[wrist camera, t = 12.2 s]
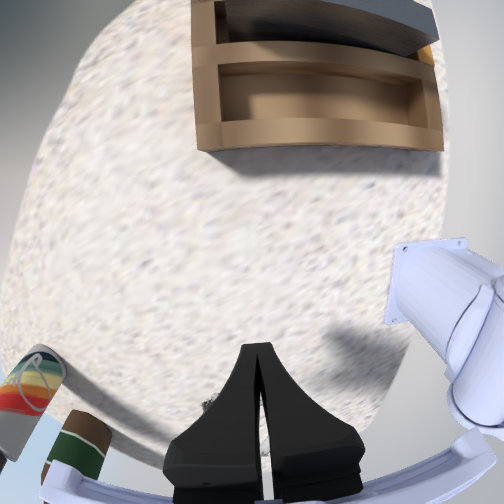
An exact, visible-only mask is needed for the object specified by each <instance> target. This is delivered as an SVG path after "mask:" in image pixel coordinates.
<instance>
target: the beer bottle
mask: <svg viewBox="0 0 504 504" xmlns="http://www.w3.org/2000/svg"><path fill="white" fill-rule="evenodd" d="M111 438H112V433H111V432H110V431H109V429H108V428H107V427H106V425H105V424H104V423H103V422H101V421H100V420H98V419H96V418H95V417H93V416H92V415H90V414H89V413H86V412H82V411H78V410H72V411H71V413H70V414H69V416H68V418H67V419H66V421H65V423H64V425H63V427H62V429H61V431H60V433H59V435H58V437H57V439H56V441H55V443H54V445H53V447H52V449H51V451H50V453H49V456H48V458H47V460H46V462H45V465H44V468H43V471H42V474H41V486H42V485H43V482H44V480H45V477H46V475H47V473H48V470H49V468H50V466H51V464H52V461H53V460H57V461H59V462H62V463H64V464H67V465H69V466H72V467H73V468H75V469H77V470H78V471H79V472H80V473H81V474H82V475H83V476H85V477H88V478H91V479H94V480H98V477H99V474H100V471H101V467H102V465H103V462H104V459H105V456H106V453H107V451H108V448H109V445H110V442H111ZM44 504H49V503H47V502H46V501H44Z"/></svg>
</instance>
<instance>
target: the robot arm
mask: <svg viewBox="0 0 504 504" xmlns="http://www.w3.org/2000/svg"><path fill="white" fill-rule="evenodd" d="M458 242H459V243H458ZM404 247H406V248H405V250H404V251H403V248H404ZM467 247H468V239H467V238H465V237H462V238H451V239H439V240H428V241H416V242H405V243H398V244H396V245H395V247H394V255H393V264H392V273H391V281H390V288H389V295H388V301H387V307H386V313H385V318H384V322H385V324H386V325H392V324H396V323H401V322H405V321H410V322H411V323H412V324H413V325H414V327H415V328H416V329H417V330H418V331H419V332H420V333H421V334H422V336H423V337H424V338H425V339H426V340H427V341H428V343H429V344H430V345H431V346H432V347H433V348H434V350H435V351H436V352H437V353H438V354H439V356H440V357H441V358H442V359H443V360H444V362H445V363H446V364H447V368H446V371H445V373H444V374H445V376H446V377H447V379H448V380H449V381H450V382H451V385H450V386H449V389H448V392H447V402H448V406H449V409H450V411H451V413H452V415H453V416H454V418H455V419H456V420H457V421H458V422H459V423H460V424H461V425H462V426H464V427H465V428H466V429H468V430H470V431H468V432H466V433H465V434H463V435H461V436H460V437H458V438H457V439H456V440H455V441H454V442H453V443H452V445H451V446H450V447H449V448H448V449H446V450H444V451H442V452H440V453H438V454H436V455H434V456H432V457H430V458H428V459H426V460H424V461H421V462H419V463H417V464H415V465H412V466H410V467H407V468H405V469H402V470H400V471H397V472H395V473H392V474H389V475H386V476H383V477H380V478H377V479H374V480H371V481H368V482H365V483H362V481H361V478H360V474H359V473H360V472H361V469H360V466H359V462H360V460H361V458H362V457H363V455H364V453H365V447H364V443H363V441H362V439H361V438H360V436H359V434H358V433H357V431H356V430H355V428H354V427H353V426H351V425H349V424H347V423H345V422H343V421H341V420H340V419H338V418H336V417H335V416H333V415H332V414H330V413H329V412H327V411H326V410H325V409H323V408H322V407H321V406H320V405H318V404H317V403H316V402H315V401H313V400H312V399H311V398H310V397H309V396H308V395H307V394H306V393H305V392H304V391H303V390H302V389H301V388H300V387H299V386H298V385H297V383H296V382H295V381H294V380H293V379H292V377H291V376H290V375H289V373H288V372H287V371H286V369H285V368H284V366H283V365H282V363H281V362H280V360H279V358H278V356H277V355H276V353H275V351H274V348H273V346H272V344H271V343H270V342H265V343H253V344H243V345H242V346H241V350H240V354H239V357H238V359H237V362H236V364H235V366H234V369H233V371H232V373H231V375H230V377H229V379H228V380H227V382H226V384H225V386H224V387H223V389H222V390H221V392H220V393H219V395H218V396H217V398H216V399H215V400H214V402H213V403H212V404H211V405H210V407H209V408H208V409H207V410H206V411H205V412H204V414H203V415H202V416H201V417H200V418H199V419H198V420H197V421H195V422H194V423H193V424H192V425H191V426H190V427H189V428H188V429H187V430H185V431H184V432H183V433H182V434H180V435H179V436H178V437H176V438H175V439H174V440H172V441H171V443H170V446H169V448H168V450H167V453H166V456H165V460H164V466H163V474H164V475H165V476H166V478H167V479H168V480H169V481H170V482H171V483H172V484H173V485H174V486H175V487H174V494H173V497H166V496H160V495H154V494H149V493H144V492H139V491H134V490H130V489H125V488H122V487H118V486H114V485H111V484H107V483H104V482H100V481H97V480H94V479H91V478H88V477H85V476H83V475H82V474H81V473H80V472H79V471H78V470H77V469H75V468H73V467H72V466H69V465H67V464H64V463H62V462H59V461H57V460H53V461H52V464H51V466H50V468H49V470H48V473H47V475H46V477H45V480H44V482H43V485H42V487H41V490H40V492H39V497H40V498H41V499H43V500H44V501H46V502H47V503H49V504H441V503H442V502H444V501H446V500H448V499H449V498H451V497H453V496H454V495H456V494H458V493H459V492H461V491H462V490H464V489H465V488H467V487H468V486H470V485H471V484H472V483H474V482H475V481H476V480H477V479H479V478H480V477H481V476H482V475H483V474H484V473H486V472H487V471H488V470H489V469H490V468H491V467H492V466H493V465H494V464H495V463H496V462H497V458H496V456H495V455H494V453H493V451H492V450H491V448H490V446H489V445H488V443H487V442H486V440H485V438H484V437H483V435H482V434H481V433H483V434H489V435H493V436H495V437H497V438H499V439H500V440H502V441H503V442H504V269H503V268H501V267H500V266H498V265H497V264H495V263H493V262H491V261H489V260H487V259H486V258H484V257H482V256H480V255H478V254H477V253H475V252H473V251H471V250H469V249H467ZM393 318H395V319H394V320H393ZM260 392H261V397H262V402H263V407H264V412H265V417H266V422H267V428H268V434H269V445H270V456H271V468H272V479H273V491H274V500H264V495H263V482H262V469H261V455H260V441H259V418H260Z"/></svg>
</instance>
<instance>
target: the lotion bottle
mask: <svg viewBox="0 0 504 504" xmlns="http://www.w3.org/2000/svg"><path fill="white" fill-rule="evenodd" d="M65 377H66V368H65V366H64V364H63V362H62V361H61V359H60V358H59V357H58V356H57V354H56V353H54V352H53V351H52V350H51V349H50V348H48V347H46V346H44V345H41V344H37V345H35V346H34V347H32V348H31V350H30V351H29V352H28V353H27V354H26V355H25V356H24V357H23V359H22V360H21V361H20V362H19V363H18V365H17V366H16V367H15V368H14V369H13V371H12V372H11V373H10V374H9V376H8V377H7V378H6V379H5V381H4V382H3V383H2V384H1V386H0V474H1V472H2V470H3V468H4V466H5V464H6V462H7V459H6V458H8V459H9V460H11V461H13V462H16V461H17V460H18V458H19V456H20V454H21V452H22V450H23V448H24V447H25V445H26V443H27V441H28V439H29V437H30V435H31V434H32V432H33V430H34V428H35V426H36V425H37V423H38V421H39V419H40V418H41V416H42V414H43V413H44V411H45V409H46V408H47V406H48V404H49V403H50V401H51V400H52V398H53V396H54V395H55V393H56V392H57V390H58V388H59V387H60V385H61V384H62V382H63V380H64V379H65ZM5 457H6V458H5Z"/></svg>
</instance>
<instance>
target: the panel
mask: <svg viewBox="0 0 504 504" xmlns="http://www.w3.org/2000/svg"><path fill="white" fill-rule="evenodd" d="M225 9H226V17H227V25H228V33H229V42H230V43H236V42H253V41H300V42H316V43H327V44H337V45H344V46H352V47H358V48H364V49H369V50H375V51H380V52H384V53H389V54H393V55H397V56H401V57H406V56H408V55H410V54H412V53H414V52H415V51H417V50H419V49H421V48H423V47H425V46H427V45H429V44H432V43H434V42H436V41H438V40H439V35H438V31H437V27H436V23H435V20H434V16H433V12H432V9H430V8H428V7H426V6H423V5H421V4H419V3H417V2H415V1H413V0H225Z"/></svg>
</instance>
